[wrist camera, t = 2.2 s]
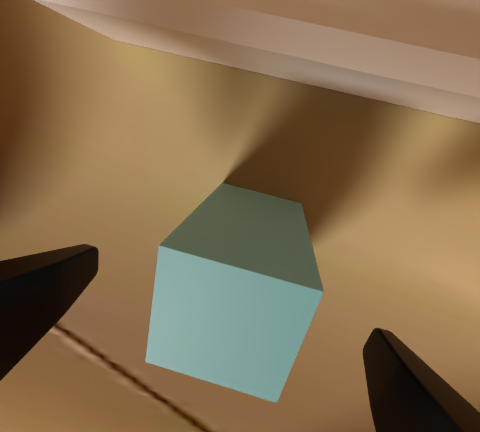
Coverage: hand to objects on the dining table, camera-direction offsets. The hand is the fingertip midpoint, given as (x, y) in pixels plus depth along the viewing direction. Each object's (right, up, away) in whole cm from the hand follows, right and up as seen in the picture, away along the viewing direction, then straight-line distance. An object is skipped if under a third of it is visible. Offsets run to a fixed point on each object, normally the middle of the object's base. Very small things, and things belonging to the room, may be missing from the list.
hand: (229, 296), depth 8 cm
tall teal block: (+1, +2, +5) cm, 6 cm away
